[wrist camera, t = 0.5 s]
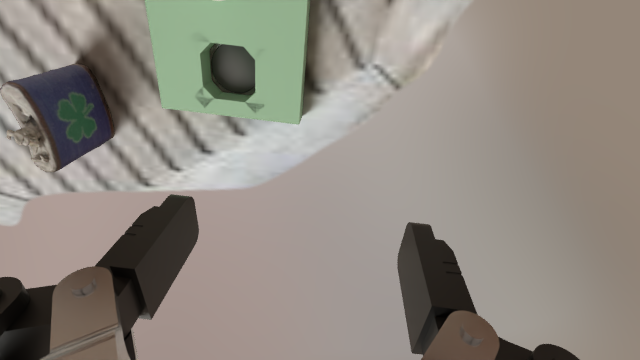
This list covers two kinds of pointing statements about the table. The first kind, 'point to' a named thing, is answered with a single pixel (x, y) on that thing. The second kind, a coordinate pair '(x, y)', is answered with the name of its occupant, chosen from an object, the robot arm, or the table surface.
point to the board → (231, 56)
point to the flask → (59, 115)
